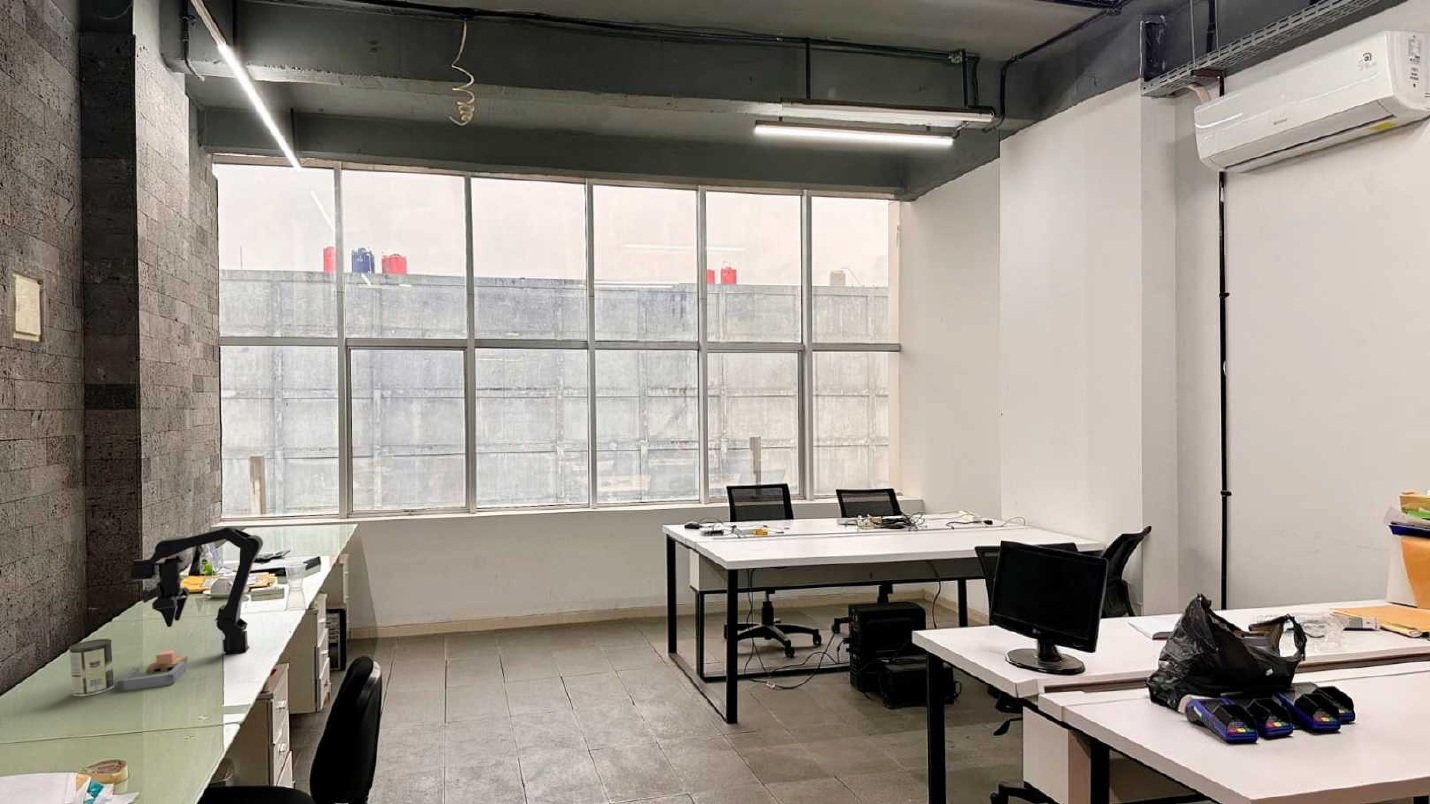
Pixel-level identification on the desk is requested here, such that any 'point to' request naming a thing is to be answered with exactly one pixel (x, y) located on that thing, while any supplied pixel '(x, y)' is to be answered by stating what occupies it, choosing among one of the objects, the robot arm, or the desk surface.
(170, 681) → the dock
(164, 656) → the salmon pink block
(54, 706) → the desk surface
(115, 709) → the desk surface
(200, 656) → the desk surface
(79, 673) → the coffee can
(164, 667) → the pallet
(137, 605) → the desk surface
